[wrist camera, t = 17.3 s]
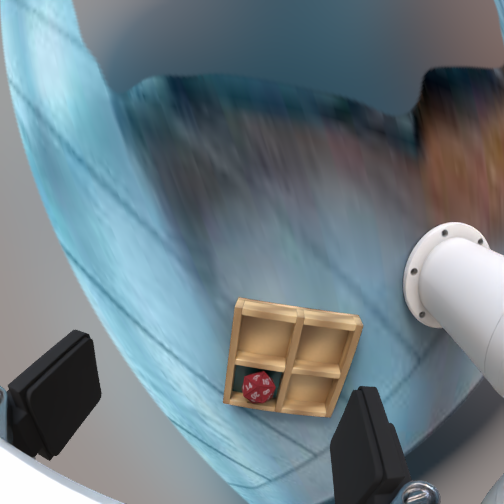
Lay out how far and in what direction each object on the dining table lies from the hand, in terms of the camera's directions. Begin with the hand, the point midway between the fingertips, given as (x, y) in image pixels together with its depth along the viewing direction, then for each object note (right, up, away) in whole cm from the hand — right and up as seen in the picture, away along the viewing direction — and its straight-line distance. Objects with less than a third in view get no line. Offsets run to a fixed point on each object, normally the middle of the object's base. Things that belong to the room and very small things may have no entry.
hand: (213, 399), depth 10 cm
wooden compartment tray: (+6, -8, +25) cm, 27 cm away
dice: (+2, -10, +26) cm, 28 cm away
